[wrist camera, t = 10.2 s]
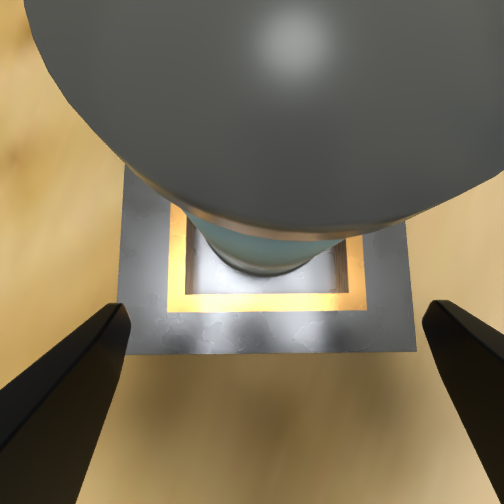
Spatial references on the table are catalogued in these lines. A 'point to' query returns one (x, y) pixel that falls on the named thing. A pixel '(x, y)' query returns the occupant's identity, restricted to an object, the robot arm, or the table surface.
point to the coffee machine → (256, 291)
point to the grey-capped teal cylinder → (286, 110)
